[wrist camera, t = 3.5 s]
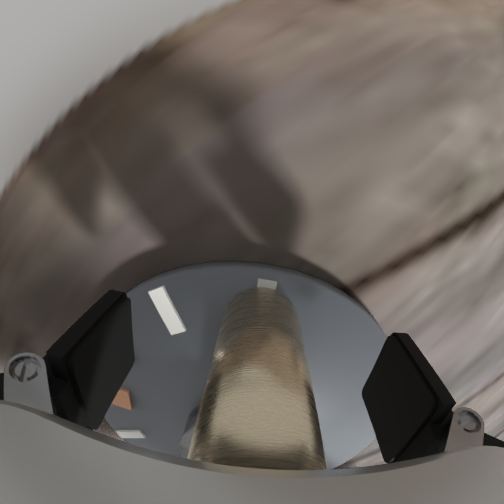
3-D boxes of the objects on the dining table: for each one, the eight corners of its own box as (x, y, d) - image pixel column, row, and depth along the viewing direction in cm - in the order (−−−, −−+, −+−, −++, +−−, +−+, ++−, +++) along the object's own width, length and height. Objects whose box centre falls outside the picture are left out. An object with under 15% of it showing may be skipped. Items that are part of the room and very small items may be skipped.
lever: (276, 458, 15) (276, 559, 7) (186, 446, 15) (162, 545, 7) (337, 297, 11) (412, 458, 4) (194, 275, 11) (104, 432, 4)
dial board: (441, 290, 13) (454, 301, 12) (332, 478, 19) (334, 489, 18) (79, 231, 13) (64, 238, 12) (117, 447, 19) (112, 458, 17)
